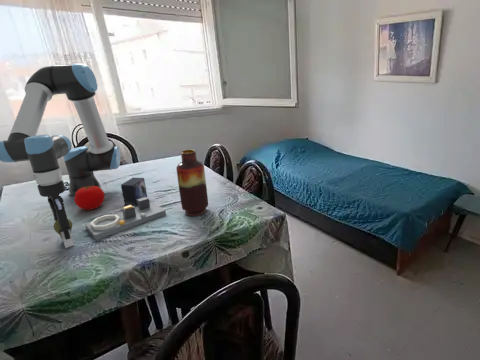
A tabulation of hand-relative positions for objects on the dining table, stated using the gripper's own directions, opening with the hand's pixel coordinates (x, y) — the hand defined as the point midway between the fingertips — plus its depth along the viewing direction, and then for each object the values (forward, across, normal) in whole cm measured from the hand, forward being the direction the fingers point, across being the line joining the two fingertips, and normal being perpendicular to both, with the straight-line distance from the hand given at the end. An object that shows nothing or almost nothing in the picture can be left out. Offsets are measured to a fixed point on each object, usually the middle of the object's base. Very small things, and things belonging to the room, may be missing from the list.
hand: (67, 242), depth 107 cm
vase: (0, +13, +46) cm, 48 cm away
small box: (0, -18, +33) cm, 38 cm away
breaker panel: (0, -1, +22) cm, 22 cm away
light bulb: (+1, 0, 0) cm, 1 cm away
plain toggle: (-2, -4, +31) cm, 31 cm away
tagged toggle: (-2, 0, +23) cm, 23 cm away
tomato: (0, -28, +16) cm, 32 cm away
